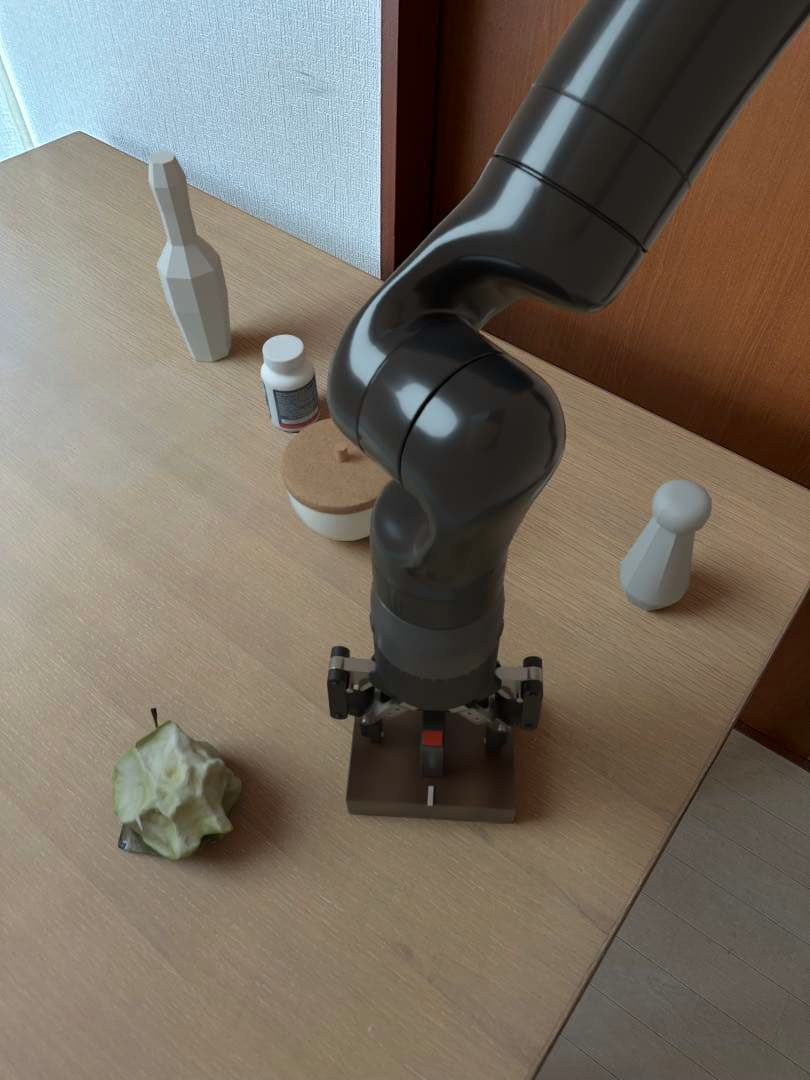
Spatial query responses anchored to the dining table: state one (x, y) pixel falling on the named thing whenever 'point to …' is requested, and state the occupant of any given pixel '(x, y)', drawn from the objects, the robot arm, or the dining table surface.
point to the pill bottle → (289, 384)
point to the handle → (432, 743)
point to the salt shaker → (665, 546)
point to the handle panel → (460, 794)
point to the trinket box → (331, 482)
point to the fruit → (172, 794)
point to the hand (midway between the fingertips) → (433, 735)
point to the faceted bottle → (189, 266)
